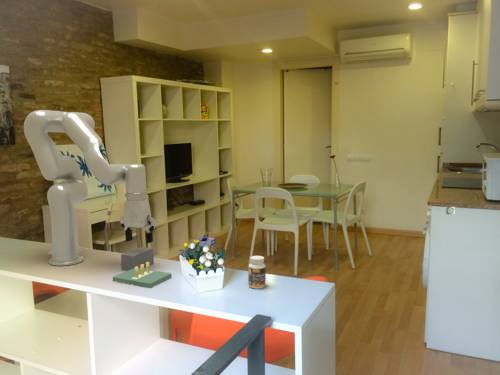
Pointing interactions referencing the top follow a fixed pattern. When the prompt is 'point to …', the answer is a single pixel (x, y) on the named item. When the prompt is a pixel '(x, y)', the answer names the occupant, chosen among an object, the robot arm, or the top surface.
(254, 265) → the pill bottle
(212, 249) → the ink cartridge box
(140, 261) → the block
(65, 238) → the robot arm
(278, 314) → the top surface
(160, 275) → the board
